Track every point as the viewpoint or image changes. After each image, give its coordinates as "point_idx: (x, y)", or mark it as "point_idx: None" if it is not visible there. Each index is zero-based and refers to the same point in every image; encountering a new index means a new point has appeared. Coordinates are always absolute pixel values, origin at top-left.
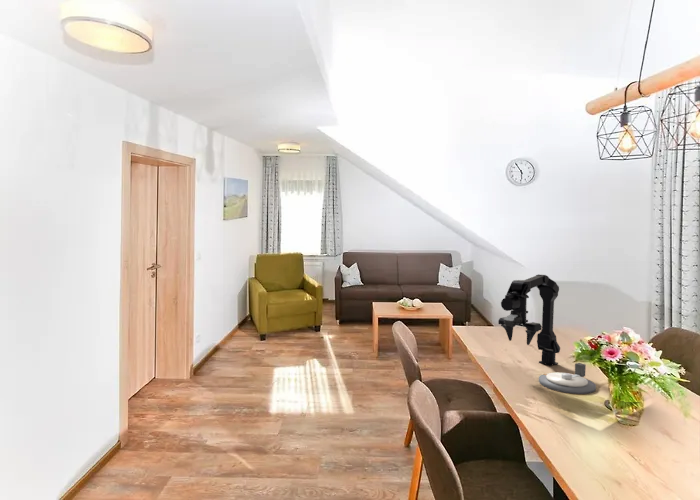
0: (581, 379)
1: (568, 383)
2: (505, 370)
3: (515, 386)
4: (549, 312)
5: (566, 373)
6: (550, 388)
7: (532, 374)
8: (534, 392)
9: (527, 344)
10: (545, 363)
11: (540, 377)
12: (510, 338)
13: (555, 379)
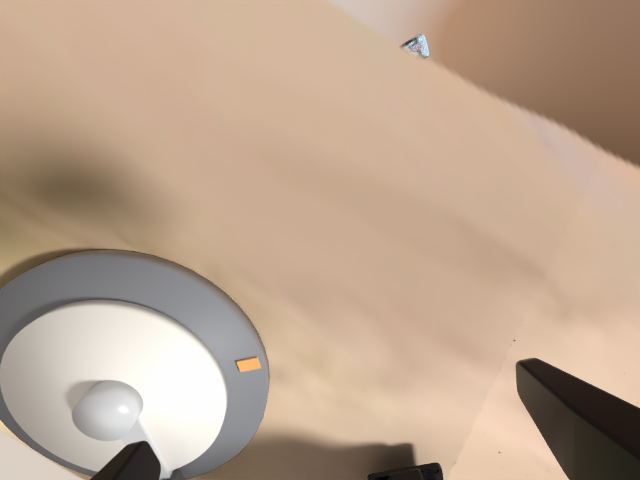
0: (87, 449)
1: (19, 350)
2: (450, 232)
3: (141, 60)
4: None
5: (122, 431)
6: (73, 253)
7: (327, 330)
8: (12, 108)
9: (124, 449)
10: (395, 472)
11: (209, 306)
12: (548, 410)
13: (97, 333)
